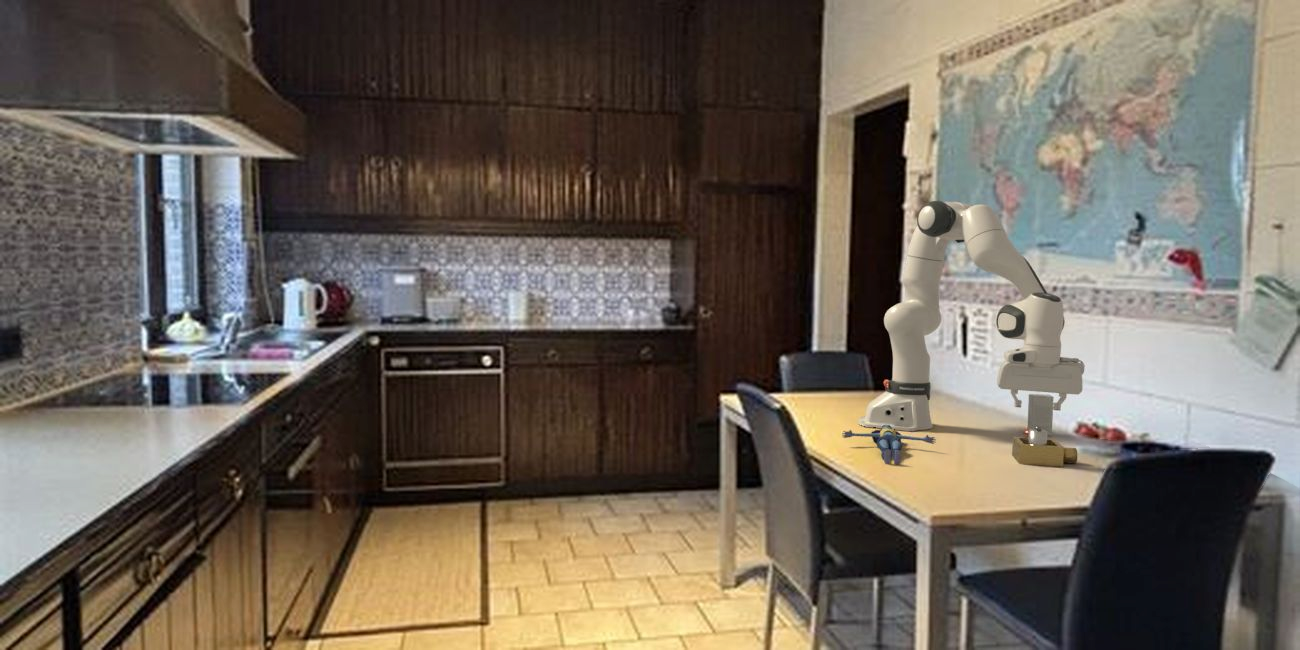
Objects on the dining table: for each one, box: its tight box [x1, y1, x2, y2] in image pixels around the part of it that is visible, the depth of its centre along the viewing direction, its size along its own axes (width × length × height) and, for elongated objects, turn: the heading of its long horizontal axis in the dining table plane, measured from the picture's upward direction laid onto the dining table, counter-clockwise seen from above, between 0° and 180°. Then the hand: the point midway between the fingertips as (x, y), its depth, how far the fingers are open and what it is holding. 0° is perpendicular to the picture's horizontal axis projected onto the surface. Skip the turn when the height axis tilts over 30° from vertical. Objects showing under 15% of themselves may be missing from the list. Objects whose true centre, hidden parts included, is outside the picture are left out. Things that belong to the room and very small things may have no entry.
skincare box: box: [1027, 393, 1054, 436], centre depth 260 cm, size 6×4×12 cm
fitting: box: [1011, 429, 1078, 468], centre depth 226 cm, size 14×15×6 cm
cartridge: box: [1027, 426, 1048, 445], centre depth 224 cm, size 5×5×9 cm
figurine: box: [841, 425, 937, 466], centre depth 232 cm, size 22×26×5 cm
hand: (1037, 408), depth 223 cm, fingers open, 8 cm apart
